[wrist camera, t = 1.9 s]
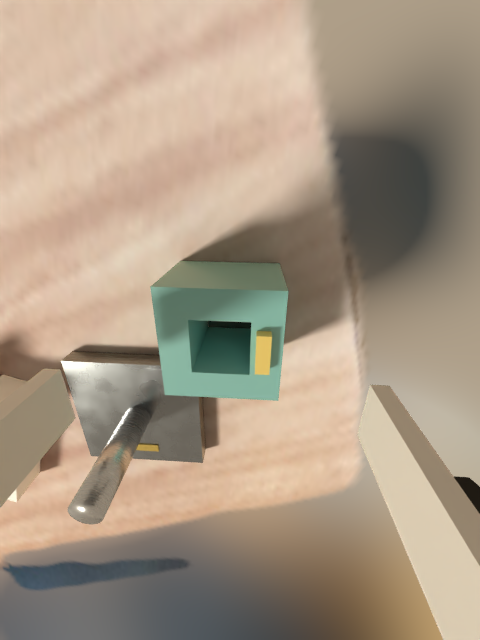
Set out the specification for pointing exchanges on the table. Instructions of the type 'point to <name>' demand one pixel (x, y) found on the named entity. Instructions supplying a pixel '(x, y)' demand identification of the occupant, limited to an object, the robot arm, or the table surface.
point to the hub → (221, 329)
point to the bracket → (3, 388)
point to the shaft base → (133, 388)
